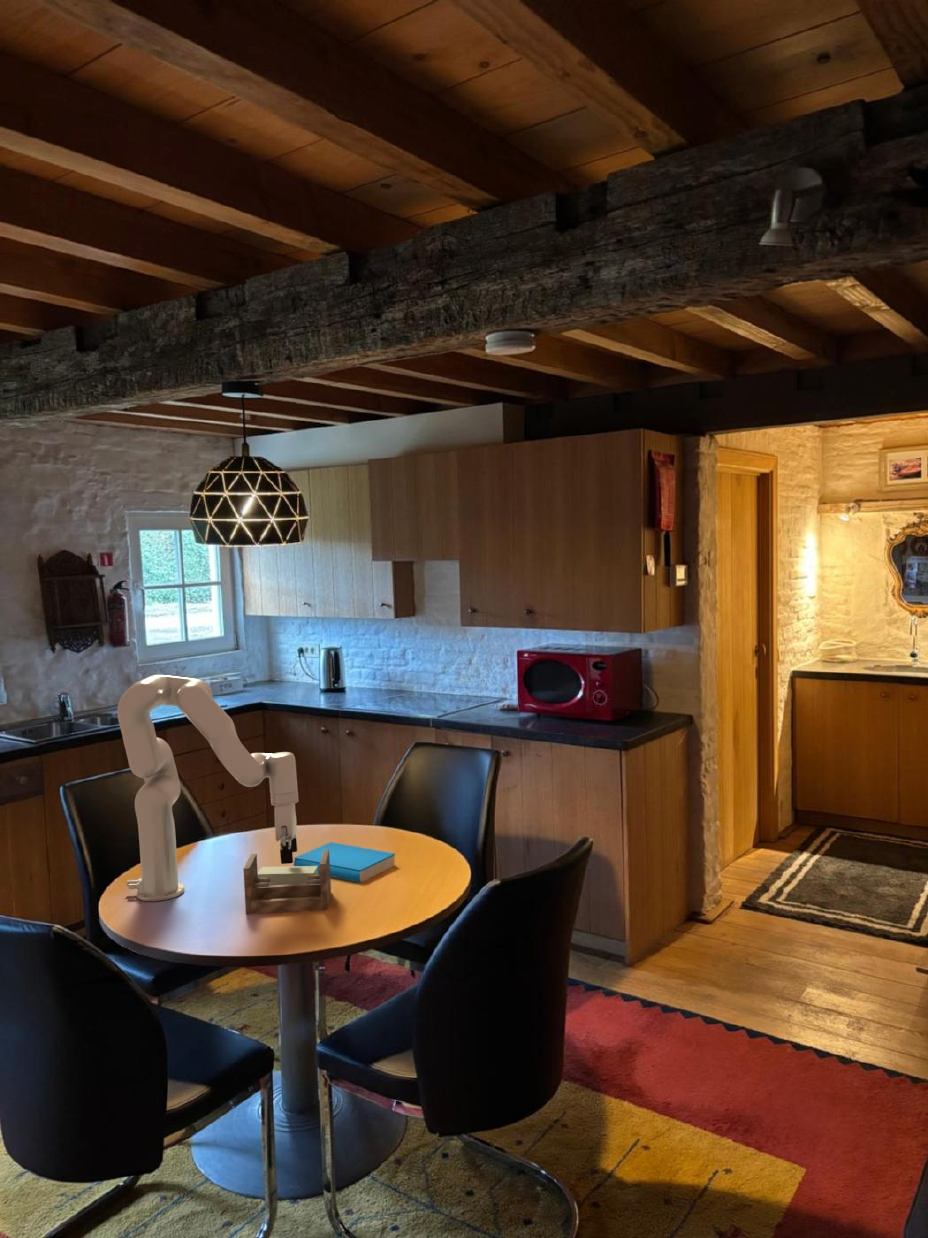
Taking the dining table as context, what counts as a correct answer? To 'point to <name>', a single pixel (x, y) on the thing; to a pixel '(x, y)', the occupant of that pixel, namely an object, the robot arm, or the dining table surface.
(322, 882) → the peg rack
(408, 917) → the dining table surface
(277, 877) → the pale green block
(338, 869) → the book
